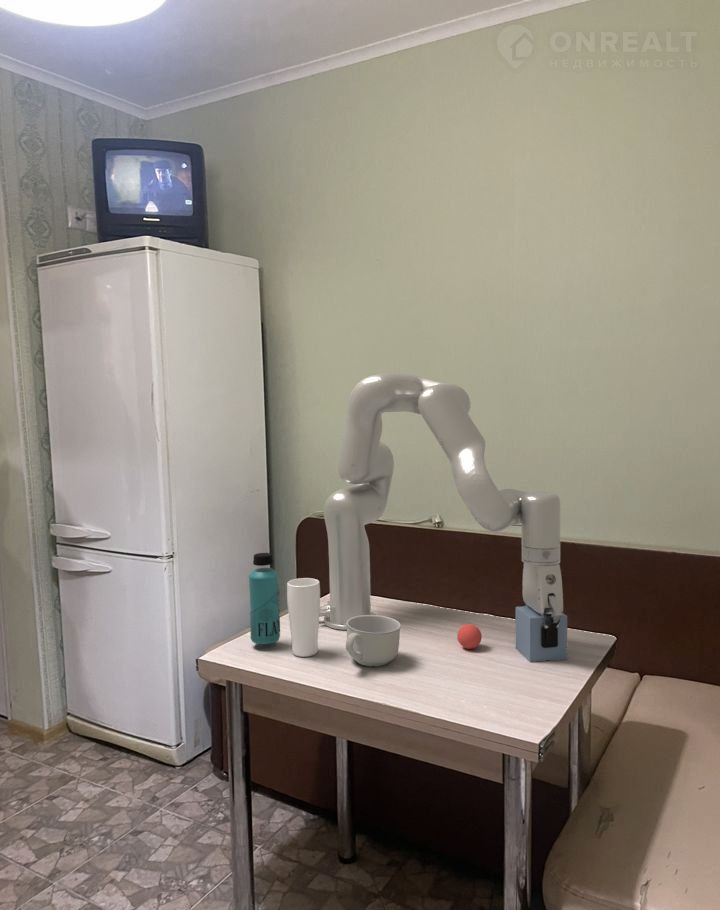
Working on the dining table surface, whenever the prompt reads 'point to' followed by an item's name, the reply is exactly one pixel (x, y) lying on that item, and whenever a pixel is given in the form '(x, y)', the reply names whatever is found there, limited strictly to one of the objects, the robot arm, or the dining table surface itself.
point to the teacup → (372, 639)
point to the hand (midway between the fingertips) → (540, 639)
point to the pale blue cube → (538, 636)
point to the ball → (469, 636)
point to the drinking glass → (304, 615)
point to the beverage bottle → (264, 601)
